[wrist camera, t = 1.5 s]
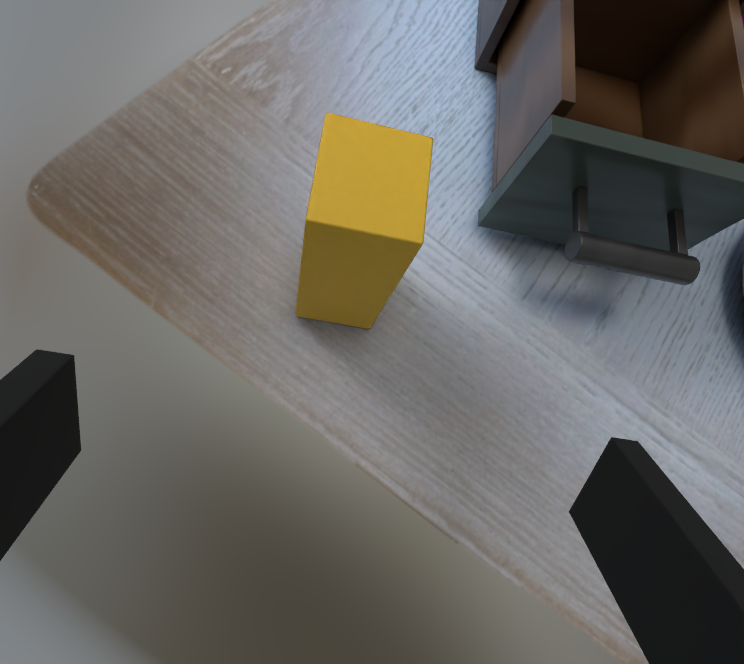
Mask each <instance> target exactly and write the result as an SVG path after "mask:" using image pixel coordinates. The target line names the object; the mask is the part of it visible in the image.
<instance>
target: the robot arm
mask: <svg viewBox="0 0 744 664" xmlns="http://www.w3.org/2000/svg"><path fill="white" fill-rule="evenodd" d="M80 451H81V443H80V430H79V416H78V403H77V389H76V376H75V362H74V355H69V354H63V353H56V352H49V351H43V350H35V351H34V352H33V353H32V354H31V355H29V356H28V357H27V358H26V359H25V360H24V361H22V362H21V363H20V364H19V365H18V366H16V367H15V368H14V369H13V370H12V371H11V372H9V373H8V374H7V375H6V376H5V377H3V378H2V379H1V380H0V561H1V559H2V558H3V556H4V555H5V554H6V552H7V551H8V550H9V548H10V547H11V545H12V544H13V543H14V541H15V540H16V539H17V537H18V536H19V535H20V533H21V532H22V530H23V529H24V528H25V526H26V525H27V524H28V522H29V521H30V519H31V518H32V517H33V515H34V514H35V513H36V511H37V510H38V509H39V507H40V506H41V504H42V503H43V502H44V500H45V499H46V498H47V496H48V495H49V494H50V492H51V491H52V489H53V488H54V486H55V485H56V484H57V483H58V481H59V480H60V479H61V477H62V475H63V474H64V473H65V472H66V470H67V469H68V468H69V466H70V465H71V463H72V462H73V461H74V459H75V458H76V457H77V455H78V454H79V453H80ZM569 513H570V515H571V517H572V518H573V520H574V522H575V524H576V526H577V528H578V530H579V532H580V534H581V536H582V537H583V539H584V541H585V543H586V545H587V547H588V549H589V551H590V553H591V554H592V556H593V558H594V560H595V562H596V564H597V566H598V568H599V570H600V572H601V573H602V575H603V577H604V579H605V581H606V583H607V585H608V587H609V589H610V590H611V592H612V594H613V596H614V598H615V600H616V602H617V604H618V606H619V608H620V609H621V611H622V613H623V615H624V617H625V619H626V621H627V623H628V625H629V626H630V628H631V630H632V632H633V634H634V636H635V638H636V640H637V642H638V644H639V645H640V647H641V649H642V651H643V653H644V655H645V657H646V659H647V661H648V662H649V664H744V569H743V568H742V567H741V565H740V564H739V563H738V562H737V561H736V559H735V558H734V557H733V556H732V555H731V553H730V552H729V551H728V550H727V548H726V547H725V546H724V545H723V544H722V542H721V541H720V540H719V539H718V538H717V536H716V535H715V534H714V533H713V532H712V530H711V529H710V528H709V527H708V526H707V524H706V523H705V522H704V521H703V520H702V518H701V517H700V516H699V515H698V513H697V512H696V511H695V510H694V509H693V507H692V506H691V505H690V504H689V503H688V501H687V500H686V499H685V498H684V497H683V495H682V494H681V493H680V492H679V491H678V489H677V488H676V487H675V486H674V485H673V483H672V482H671V481H670V480H669V478H668V477H667V476H666V475H665V474H664V472H663V471H662V470H661V469H660V468H659V466H658V465H657V464H656V463H655V462H654V460H653V459H652V458H651V457H650V456H649V454H648V453H647V452H646V451H645V449H644V448H643V447H642V446H641V445H640V443H639V442H638V441H632V440H626V439H619V438H613V437H611V439H610V441H609V442H608V444H607V446H606V448H605V449H604V451H603V453H602V455H601V456H600V458H599V460H598V462H597V463H596V465H595V467H594V469H593V470H592V472H591V474H590V476H589V477H588V479H587V481H586V483H585V484H584V486H583V488H582V490H581V491H580V493H579V495H578V497H577V498H576V500H575V502H574V504H573V505H572V507H571V509H570V511H569Z"/></svg>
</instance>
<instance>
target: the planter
mask: <svg viewBox="0 0 744 664" xmlns="http://www.w3.org/2000/svg"><path fill="white" fill-rule="evenodd" d="M742 284H743V295H744V263H743V273H742Z"/></svg>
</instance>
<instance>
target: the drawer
mask: <svg viewBox="0 0 744 664" xmlns="http://www.w3.org/2000/svg"><path fill="white" fill-rule="evenodd" d="M743 218H744V27H743V22H742V16H741V10H740V5H739V0H522V1H521V3H520V5H519V7H518V9H517V10H516V12H515V14H514V16H513V18H512V20H511V22H510V24H509V26H508V28H507V30H506V32H505V34H504V36H503V39H502V40H501V42H500V44H499V46H498V61H497V83H496V105H495V128H494V150H493V172H492V194H491V195H490V196H489V198H488V199H487V200H486V202H485V203H484V204H483V206H482V207H481V208H480V209H479V214H478V226H481V227H485V228H490V229H495V230H499V231H504V232H509V233H513V234H518V235H523V236H527V237H532V238H537V239H541V240H546V241H550V242H555V243H560V244H564V245H565V251H564V254H565V258H566V259H567V260H568V261H571V262H575V263H580V264H585V265H590V266H595V267H599V268H604V269H609V270H614V271H618V272H623V273H628V274H633V275H637V276H642V277H647V278H652V279H656V280H661V281H666V282H671V283H675V284H680V285H688V284H690V283H692V282H693V281H694V280H695V279H696V278H697V276H698V274H699V271H700V262H699V260H698V259H697V258H696V257H693V256H689V255H688V251H687V249H689V248H691V247H693V246H694V245H696V244H698V243H700V242H702V241H704V240H705V239H707V238H709V237H711V236H713V235H714V234H716V233H718V232H720V231H722V230H723V229H725V228H727V227H729V226H731V225H732V224H734V223H736V222H738V221H740V220H741V219H743Z"/></svg>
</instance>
